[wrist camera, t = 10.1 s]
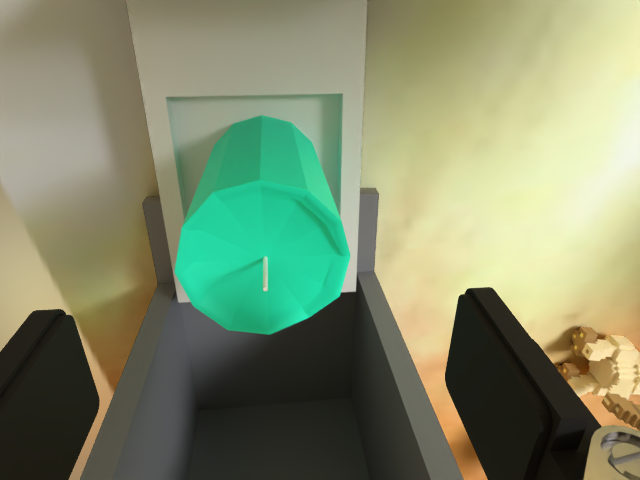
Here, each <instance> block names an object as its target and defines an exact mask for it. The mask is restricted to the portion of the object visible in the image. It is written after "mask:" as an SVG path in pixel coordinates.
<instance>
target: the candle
mask: <svg viewBox="0 0 640 480" xmlns="http://www.w3.org/2000/svg"><path fill="white" fill-rule="evenodd" d="M350 257H351V255H350V251H349V247H348V243H347V240H346V236H345V232H344V228H343V224H342V221H341V218H340V215H339V213H338V210H337V207H336V205H335V202H334V199H333V197H332V194H331V191H330V189H329V186H328V183H327V181H326V178H325V175H324V173H323V170H322V167H321V165H320V162H319V159H318V157H317V154H316V151H315V149H314V146H313V143H312V142H311V141H310V140H309V139H308V138H307V137H306V136H305V135H304V134H303V133H302V132H301V131H300V130H299V129H298V128H297V127H296V126H295V125H294V124H293V123H292V122H289V121H285V120H280V119H276V118H272V117H268V116H264V115H260V116H257V117H253V118H250V119H247V120H243V121H240V122H237V123H233V124H232V126H231V127H230V128H229V129H228V130H227V131H226V132H225V133H224V135H223V136H222V137H221V138H220V139H219V140H218V141H217V142H216V144H215V145H214V147H213V149H212V152H211V154H210V157H209V159H208V162H207V164H206V167H205V170H204V172H203V175H202V177H201V180H200V182H199V185H198V187H197V190H196V192H195V195H194V197H193V200H192V202H191V205H190V208H189V210H188V213H187V215H186V218H185V220H184V223H183V225H182V228H181V234H180V240H179V247H178V253H177V259H176V265H175V271H174V273H175V275H176V276H177V278H178V280H179V282H180V283H181V285H182V287H183V289H184V291H185V292H186V294H187V296H188V298H189V300H190V301H191V303H192V305H193V306H194V307H195V308H197V309H198V310H199V311H201V312H202V313H204V314H205V315H207V316H208V317H209V318H211V319H212V320H214V321H215V322H217V323H218V324H220V325H221V326H222V327H224V328H225V329H227V330H230V331H240V332H249V333H258V334H268V335H270V334H273V333H275V332H277V331H280V330H282V329H284V328H287V327H289V326H291V325H293V324H296V323H298V322H300V321H303V320H305V319H307V318H309V317H311V316H312V315H314V314H315V313H317V312H318V311H319V310H321V309H322V308H324V307H325V306H327V305H328V304H330V303H331V302H332V301H334V300H335V299H337V298H338V297H340V294H341V290H342V287H343V283H344V279H345V275H346V272H347V268H348V264H349V261H350Z"/></svg>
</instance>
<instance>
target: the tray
mask: <svg viewBox="0 0 640 480" xmlns="http://www.w3.org/2000/svg"><path fill="white" fill-rule="evenodd" d="M367 3H368V0H126V5H127V10H128V16H129V22H130V28H131V33H132V39H133V45H134V51H135V56H136V62H137V68H138V74H139V79H140V85H141V91H142V97H143V102H144V108H145V114H146V120H147V126H148V131H149V137H150V143H151V149H152V154H153V160H154V166H155V172H156V177H157V183H158V189H159V195H160V200H161V206H162V212H163V218H164V223H165V229H166V235H167V241H168V246H169V252H170V258H171V264H172V269H173V275H174V281H175V287H176V292H177V298H178V303H181V302H191V301H190V300H189V298H188V296H187V294H186V292H185V291H184V289H183V287H182V285H181V283H180V282H179V280H178V278H177V276H176V275H175V273H174V271H175V265H176V259H177V253H178V247H179V240H180V234H181V228H182V225H183V223H184V220H185V218H186V215H187V213H188V210H189V208H190V205H191V202H192V200H193V197H194V195H195V192H196V190H197V187H198V185H199V182H200V180H201V177H202V175H203V172H204V170H205V167H206V164H207V162H208V159H209V157H210V154H211V152H212V149H213V147H214V145H215V144H216V142H217V141H218V140H219V139H220V138H221V137H222V136H223V135H224V133H225V132H226V131H227V130H228V129H229V128H230V127H231V126H232V124H233V123H237V122H240V121H243V120H247V119H250V118H253V117H257V116H260V115H264V116H268V117H272V118H276V119H280V120H285V121H289V122H292V123H293V124H294V125H295V126H296V127H297V128H298V129H299V130H300V131H301V132H302V133H303V134H304V135H305V136H306V137H307V138H308V139H309V140H310V141H311V142H312V143H313V146H314V149H315V151H316V154H317V157H318V159H319V162H320V165H321V167H322V170H323V173H324V175H325V178H326V181H327V183H328V186H329V189H330V191H331V194H332V197H333V199H334V202H335V205H336V207H337V210H338V213H339V215H340V218H341V221H342V224H343V228H344V232H345V236H346V240H347V243H348V247H349V251H350V255H351V257H350V261H349V264H348V268H347V272H346V275H345V279H344V283H343V287H342V290H341V292H355V291H356V277H357V252H358V227H359V202H360V177H361V152H362V128H363V103H364V78H365V53H366V28H367Z"/></svg>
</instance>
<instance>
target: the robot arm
mask: <svg viewBox="0 0 640 480" xmlns="http://www.w3.org/2000/svg"><path fill="white" fill-rule="evenodd" d="M445 381H446V386H447V389H448V391H449V394H450V396H451V398H452V400H453V403H454V405H455V407H456V409H457V411H458V414H459V416H460V418H461V420H462V423H463V425H464V427H465V429H466V432H467V434H468V436H469V438H470V441H471V443H472V445H473V447H474V449H475V452H476V454H477V456H478V458H479V461H480V463H481V465H482V467H483V470H484V472H485V474H486V476H487V479H488V480H640V431H637V430H634V429H631V428H628V427H625V426H616V425H610V426H604V427H601V425H600V424H599V423H598V421H597V420H596V419H595V417H594V416H593V415H592V414H591V412H590V411H589V410H588V408H587V407H586V406H585V405H584V403H583V402H582V401H581V399H580V398H579V397H578V395H577V394H576V393H575V392H574V390H573V389H572V388H571V386H570V385H569V384H568V383H567V381H566V380H565V379H564V377H563V376H562V375H561V373H560V372H559V371H558V370H557V368H556V367H555V366H554V364H553V363H552V362H551V361H550V359H549V358H548V357H547V355H546V354H545V353H544V351H543V350H542V349H541V348H540V346H539V345H538V344H537V343H536V342H535V341H534V340H533V339H531V337H530V336H529V335H528V333H527V332H526V331H525V330H524V328H523V327H522V326H521V324H520V323H519V322H518V320H517V319H516V318H515V316H514V315H513V314H512V313H511V311H510V310H509V309H508V307H507V306H506V305H505V303H504V302H503V301H502V300H501V298H500V297H499V296H498V294H497V293H496V292H495V290H494V289H493V288H490V287H487V288H469V289H467V290H466V292H465V294H463V295H460V296H459V299H458V304H457V310H456V315H455V321H454V327H453V332H452V338H451V344H450V349H449V355H448V361H447V367H446V372H445ZM98 409H99V396H98V392H97V389H96V386H95V383H94V380H93V377H92V374H91V371H90V367H89V365H88V362H87V358H86V355H85V352H84V349H83V346H82V342H81V339H80V336H79V333H78V330H77V327H76V324H75V321H74V318H73V317H72V316H71V315H66V313H65V312H64V311H63V310H61V309H55V310H36V311H33V312H32V313H31V314H30V315H29V316H28V318H27V319H26V320H25V321H24V323H23V324H22V325H21V326H20V328H19V329H18V331H17V332H16V333H15V334H14V335H13V337H12V338H11V339H10V340H9V342H8V343H7V344H6V345H5V347H4V348H3V349H2V351H1V352H0V480H68V479H69V477H70V475H71V472H72V470H73V468H74V465H75V463H76V461H77V459H78V456H79V454H80V452H81V449H82V447H83V445H84V443H85V440H86V438H87V436H88V433H89V431H90V429H91V427H92V424H93V422H94V419H95V417H96V415H97V413H98Z"/></svg>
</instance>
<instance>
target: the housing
mask: <svg viewBox="0 0 640 480" xmlns="http://www.w3.org/2000/svg"><path fill="white" fill-rule="evenodd" d="M378 200H379V193H378V191H377V190H376V188H360V202H359V227H358V252H357V277H356V291H355V292H341V294H340V297H338V298H337V299H335V300H334V301H332V302H331V303H330V304H328V305H327V306H325V307H324V308H322V309H321V310H319V311H318V312H317V313H315V314H314V315H312V316H311V317H309V318H307V319H305V320H303V321H300V322H298V323H296V324H293V325H291V326H289V327H287V328H284V329H282V330H280V331H277V332H275V333H273V334H270V335H268V334H258V333H249V332H240V331H230V330H227V329H225V328H224V327H222V326H221V325H220V324H218V323H217V322H215V321H214V320H212V319H211V318H209V317H208V316H207V315H205V314H204V313H202V312H201V311H199V310H198V309H197V308H195V307H194V306H193V305H192V303H191V302H181V303H178V298H177V292H176V287H175V281H174V275H173V269H172V264H171V258H170V252H169V246H168V241H167V235H166V229H165V223H164V218H163V212H162V206H161V200H160V197H146V199H145V200H144V202H143V203H142V204H143V209H144V214H145V220H146V225H147V230H148V235H149V240H150V245H151V250H152V256H153V261H154V266H155V271H156V276H157V281H158V285H157V288H156V290H155V293H154V295H153V298H152V300H151V303H150V305H149V308H148V310H147V313H146V315H145V318H144V320H143V323H142V325H141V328H140V330H139V333H138V335H137V338H136V340H135V343H134V345H133V348H132V350H131V353H130V355H129V358H128V360H127V363H126V365H125V368H124V370H123V373H122V375H121V378H120V380H119V383H118V385H117V388H116V390H115V393H114V395H113V398H112V400H111V403H110V405H109V408H108V410H107V413H106V415H105V418H104V420H103V423H102V425H101V428H100V430H99V433H98V435H97V438H96V440H95V443H94V445H93V448H92V451H91V453H90V455H89V458H88V460H87V463H86V465H85V468H84V471H83V473H82V475H81V478H80V480H464V479H463V477H462V474H461V472H460V470H459V467H458V465H457V463H456V460H455V458H454V456H453V453H452V451H451V449H450V446H449V444H448V442H447V439H446V437H445V435H444V432H443V430H442V428H441V425H440V423H439V421H438V418H437V416H436V414H435V411H434V409H433V407H432V404H431V402H430V400H429V397H428V395H427V393H426V391H425V388H424V386H423V384H422V381H421V379H420V377H419V374H418V372H417V370H416V367H415V365H414V363H413V360H412V358H411V356H410V353H409V351H408V349H407V346H406V344H405V342H404V339H403V337H402V335H401V332H400V330H399V328H398V325H397V323H396V321H395V318H394V316H393V314H392V311H391V309H390V307H389V304H388V302H387V300H386V297H385V295H384V293H383V290H382V288H381V286H380V283H379V281H378V279H377V276H376V274H375V272H374V266H375V249H376V233H377V216H378Z"/></svg>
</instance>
